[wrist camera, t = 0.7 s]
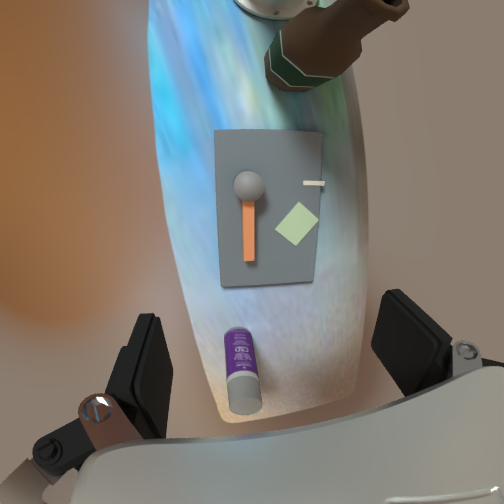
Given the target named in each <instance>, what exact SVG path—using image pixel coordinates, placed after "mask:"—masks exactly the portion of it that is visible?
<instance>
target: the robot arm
mask: <svg viewBox="0 0 504 504" xmlns="http://www.w3.org/2000/svg"><path fill="white" fill-rule="evenodd" d="M234 1H235V2H236V3H237V4H238V5H239V6H240V7H242V8H243V9H244V10H246V11H248V12H249V13H251V14H254V15H256V16H259V17H262V18H267V19H273V20H289V19H292V18H293V17H295V16H296V15H297V14H298V13H300V12H301V11H303V10H304V9H305V8H309V7H313V6H315V4H316V2H317V1H318V0H234ZM274 14H276V15H277V16H276V15H274ZM451 341H452V337H450V335H449V334H448V333H447V332H446V331H444V330H443V329H442V328H441V327H440V326H439V325H438V324H437V323H436V322H435V321H434V320H433V319H432V318H431V317H429V315H427V314H426V313H425V312H424V311H423V310H422V309H421V308H420V307H419V306H418V305H416V304H415V303H414V302H413V301H412V300H411V299H410V298H409V297H408V296H407V295H405V294H404V293H403V292H402V291H401V290H400V289H393V290H387V291H386V292H385V294H384V295H383V296H382V300H381V304H380V309H379V313H378V317H377V321H376V326H375V330H374V334H373V337H372V341H371V347H372V349H373V351H374V352H375V353H376V355H377V357H378V358H379V359H380V361H381V362H382V364H383V365H384V367H385V368H386V369H387V371H388V372H389V374H390V375H391V377H392V378H393V380H394V381H395V382H396V384H397V386H398V387H399V389H400V390H401V391H402V393H403V394H404V396H405V397H404V398H401V399H399V400H396V401H393V402H391V403H387V404H385V405H382V406H378V407H375V408H372V409H369V410H366V411H363V412H359V413H356V414H352V415H349V416H345V417H341V418H337V419H333V420H329V421H325V422H321V423H316V424H311V425H306V426H301V427H295V428H290V429H284V430H278V431H271V432H263V433H255V434H246V435H235V436H222V437H206V438H169V439H166V430H167V420H168V411H169V402H170V394H171V386H172V379H173V367H172V363H171V359H170V356H169V352H168V348H167V344H166V341H165V337H164V333H163V329H162V325H161V321H160V318H159V317H155V315H154V314H153V313H147V314H140V315H139V316H138V319H137V322H136V324H135V326H134V329H133V332H132V334H131V337H130V339H129V342H128V345H127V346H123V347H122V348H121V350H120V352H119V355H118V357H117V360H116V363H115V365H114V368H113V371H112V374H111V376H110V379H109V382H108V385H107V387H106V390H105V393H104V394H103V393H98V394H93V395H90V396H88V397H86V398H85V399H84V400H83V401H82V402H81V403H80V406H79V408H78V415H79V418H77V419H76V420H74V421H72V422H70V423H68V424H66V425H65V426H63V427H61V428H59V429H57V430H55V431H53V432H51V433H49V434H47V435H45V436H44V437H42V438H40V439H39V440H38V441H37V442H36V443H35V444H34V447H33V458H32V459H31V460H29V459H28V458H27V459H26V460H25V461H23V462H22V464H20V465H19V466H18V467H17V468H16V469H15V470H14V471H13V472H12V473H11V474H10V475H9V476H8V477H7V478H6V479H5V480H4V481H3V482H2V483H1V484H0V500H1V502H2V503H3V504H69V503H70V504H504V363H501V362H496V361H493V360H488V359H484V358H481V353H480V350H479V349H478V347H477V346H476V345H474V344H473V343H471V342H468V341H463V340H461V341H457V342H455V343H454V345H453V346H451V345H450V343H451Z"/></svg>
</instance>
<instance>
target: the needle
mask: <svg viewBox="0 0 504 504" xmlns="http://www.w3.org/2000/svg"><path fill="white" fill-rule="evenodd" d="M233 187H234V191H235V194H236V195H237V197H238V198H239V199H241V200H242V240H243V259H244V261H254V201H256V200H258V199H259V198H260V197H261V196H262V194H263V192H264V187H265V186H264V182H263V180H262V178H261V177H260V176H259V175H258V174H257V173H256V172H254V171H252V170H243V171H240V172H239V173H238V174H237V175H236V176H235V177H234V180H233Z"/></svg>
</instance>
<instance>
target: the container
mask: <svg viewBox="0 0 504 504" xmlns="http://www.w3.org/2000/svg"><path fill="white" fill-rule="evenodd" d="M224 344H225V363H226V380H227V390H228V400H229V408H230V410H231V412H233V413H235V414H238V415H250V414H254V413H256V412H258V411H259V410H260V409H261V408H262V398H261V391H260V384H259V377H258V371H257V366H256V360H255V355H254V349H253V343H252V338H251V333H250V332H249V331H248V330H247V329H246V328H243V327H234V328H231V329H229V330H228V331H227V332H226V333H225V335H224Z"/></svg>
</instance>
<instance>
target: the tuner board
mask: <svg viewBox="0 0 504 504" xmlns="http://www.w3.org/2000/svg"><path fill="white" fill-rule="evenodd" d="M214 142H215V180H216V207H217V229H218V248H219V265H220V281H221V287H230V286H248V285H264V284H279V283H293V282H306V281H313V275H314V265H315V255H316V244H317V232H318V221H319V205H320V188H321V186H325V181H321V166H322V132H312V131H295V130H263V129H241V130H214ZM243 170H252V171H254V172H256V173H257V174H258V175H259V176H260V177H261V178H262V180H263V182H264V186H265V187H264V192H263V194H262V196H261V197H260V198H259V199H258V200H256V201H254V261H244V259H243V240H242V200H241V199H239V198H238V197H237V195H236V194H235V191H234V187H233V180H234V177H235V176H236V175H237V174H238V173H239V172H240V171H243Z"/></svg>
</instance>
